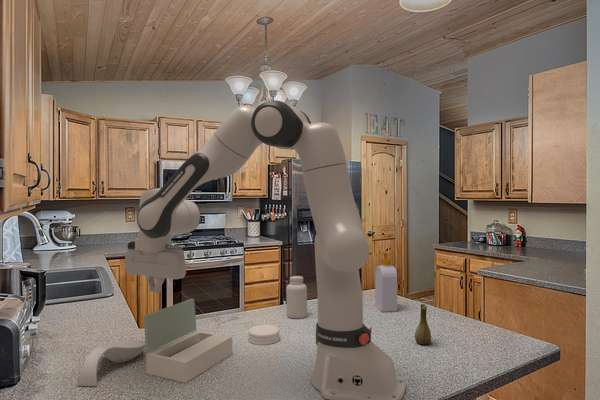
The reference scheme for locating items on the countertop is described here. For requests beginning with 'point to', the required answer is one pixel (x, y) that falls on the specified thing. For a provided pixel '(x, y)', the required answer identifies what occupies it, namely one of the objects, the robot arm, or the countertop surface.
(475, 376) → the countertop surface
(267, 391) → the countertop surface
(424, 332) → the olive green bottle shape
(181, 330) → the cover
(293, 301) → the pill bottle
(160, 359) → the beige rectangular box
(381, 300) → the soap bottle
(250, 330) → the beige short cylinder
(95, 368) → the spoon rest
